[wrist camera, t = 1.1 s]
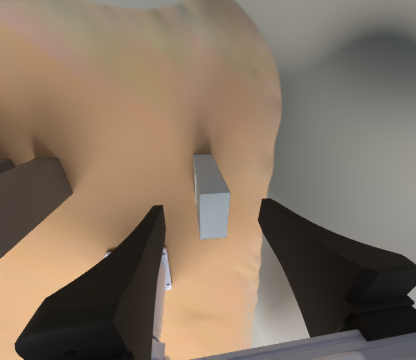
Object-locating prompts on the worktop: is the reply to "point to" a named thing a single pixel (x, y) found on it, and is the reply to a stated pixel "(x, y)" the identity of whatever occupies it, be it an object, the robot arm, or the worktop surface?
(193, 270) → the worktop surface
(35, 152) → the worktop surface
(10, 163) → the domino
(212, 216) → the domino
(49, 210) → the domino
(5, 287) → the worktop surface
